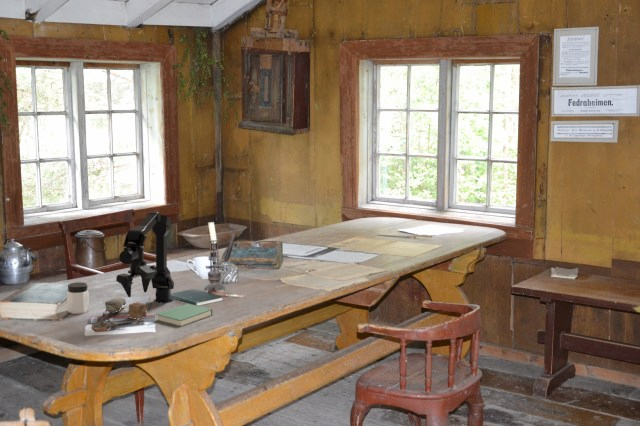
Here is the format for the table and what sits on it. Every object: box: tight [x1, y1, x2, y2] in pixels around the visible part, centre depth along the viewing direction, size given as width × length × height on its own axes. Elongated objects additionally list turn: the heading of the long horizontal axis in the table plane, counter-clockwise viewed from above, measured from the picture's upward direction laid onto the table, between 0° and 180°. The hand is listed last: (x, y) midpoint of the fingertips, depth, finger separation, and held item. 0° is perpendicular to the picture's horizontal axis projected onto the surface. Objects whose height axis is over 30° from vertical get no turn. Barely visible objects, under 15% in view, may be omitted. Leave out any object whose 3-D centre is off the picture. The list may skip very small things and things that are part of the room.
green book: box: [155, 303, 213, 327], centre depth 354 cm, size 20×14×3 cm
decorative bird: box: [102, 296, 127, 317], centre depth 357 cm, size 5×16×8 cm, turn 166°
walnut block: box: [128, 301, 147, 319], centre depth 352 cm, size 5×5×6 cm
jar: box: [66, 281, 90, 315], centre depth 359 cm, size 9×8×12 cm
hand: (137, 294), depth 351 cm, fingers open, 9 cm apart
